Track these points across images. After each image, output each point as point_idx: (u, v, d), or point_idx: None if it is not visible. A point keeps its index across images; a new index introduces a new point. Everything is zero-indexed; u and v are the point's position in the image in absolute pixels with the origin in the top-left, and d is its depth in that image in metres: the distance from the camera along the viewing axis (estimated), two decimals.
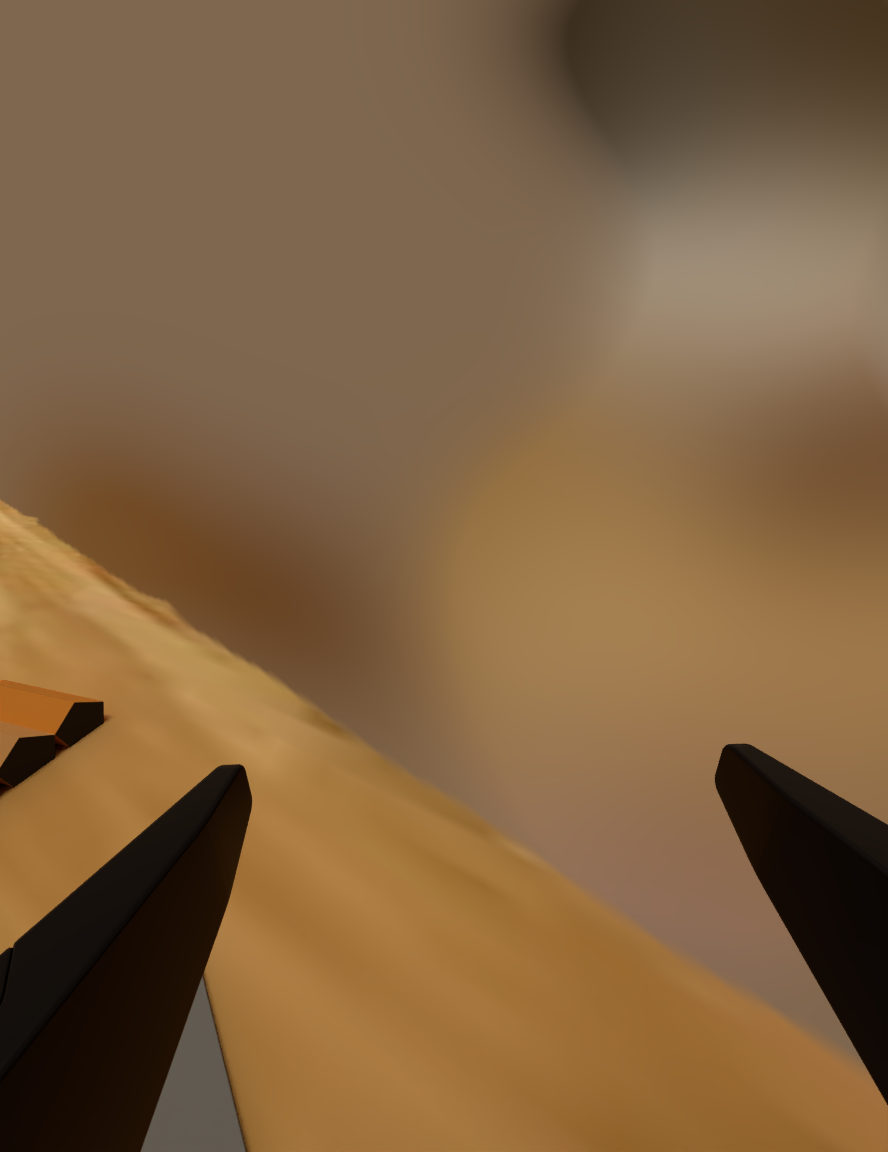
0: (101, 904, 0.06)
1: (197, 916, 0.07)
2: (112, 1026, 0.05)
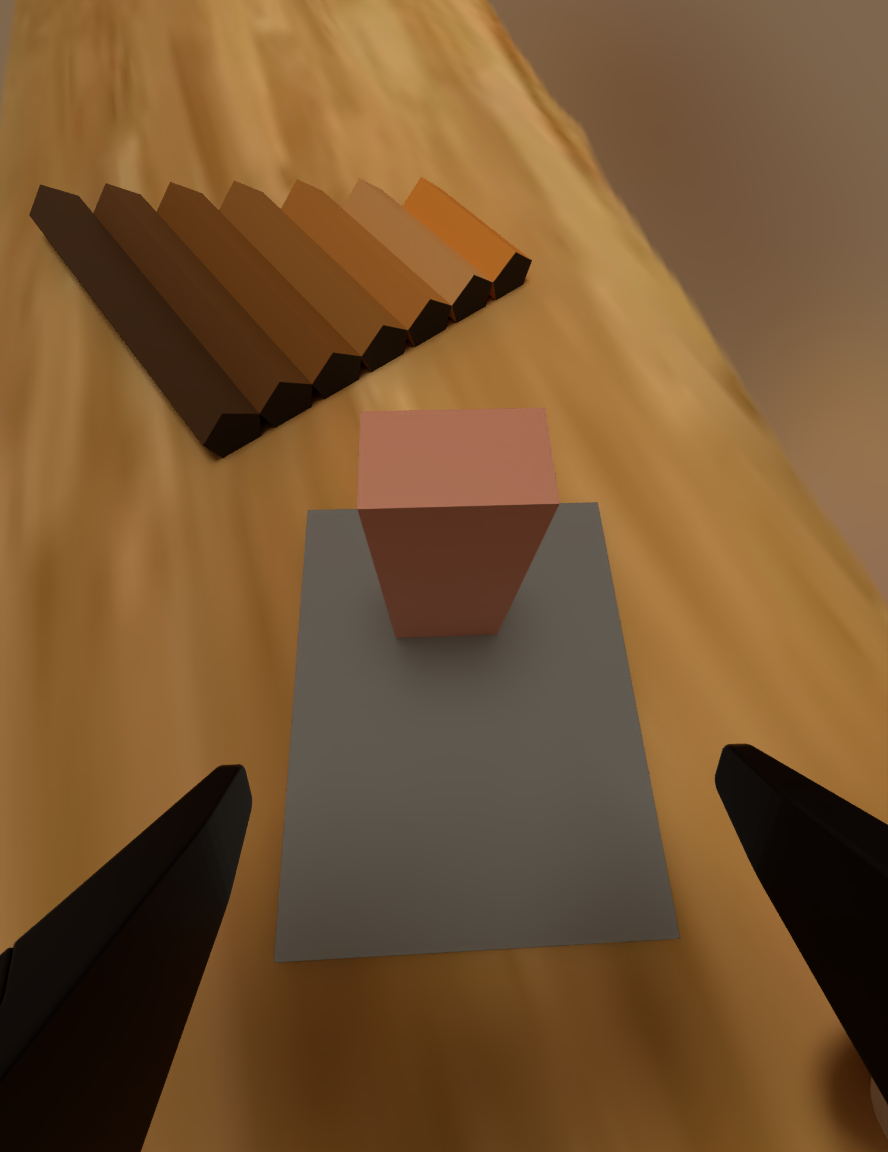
0: (101, 905, 0.06)
1: (197, 916, 0.07)
2: (112, 1026, 0.05)
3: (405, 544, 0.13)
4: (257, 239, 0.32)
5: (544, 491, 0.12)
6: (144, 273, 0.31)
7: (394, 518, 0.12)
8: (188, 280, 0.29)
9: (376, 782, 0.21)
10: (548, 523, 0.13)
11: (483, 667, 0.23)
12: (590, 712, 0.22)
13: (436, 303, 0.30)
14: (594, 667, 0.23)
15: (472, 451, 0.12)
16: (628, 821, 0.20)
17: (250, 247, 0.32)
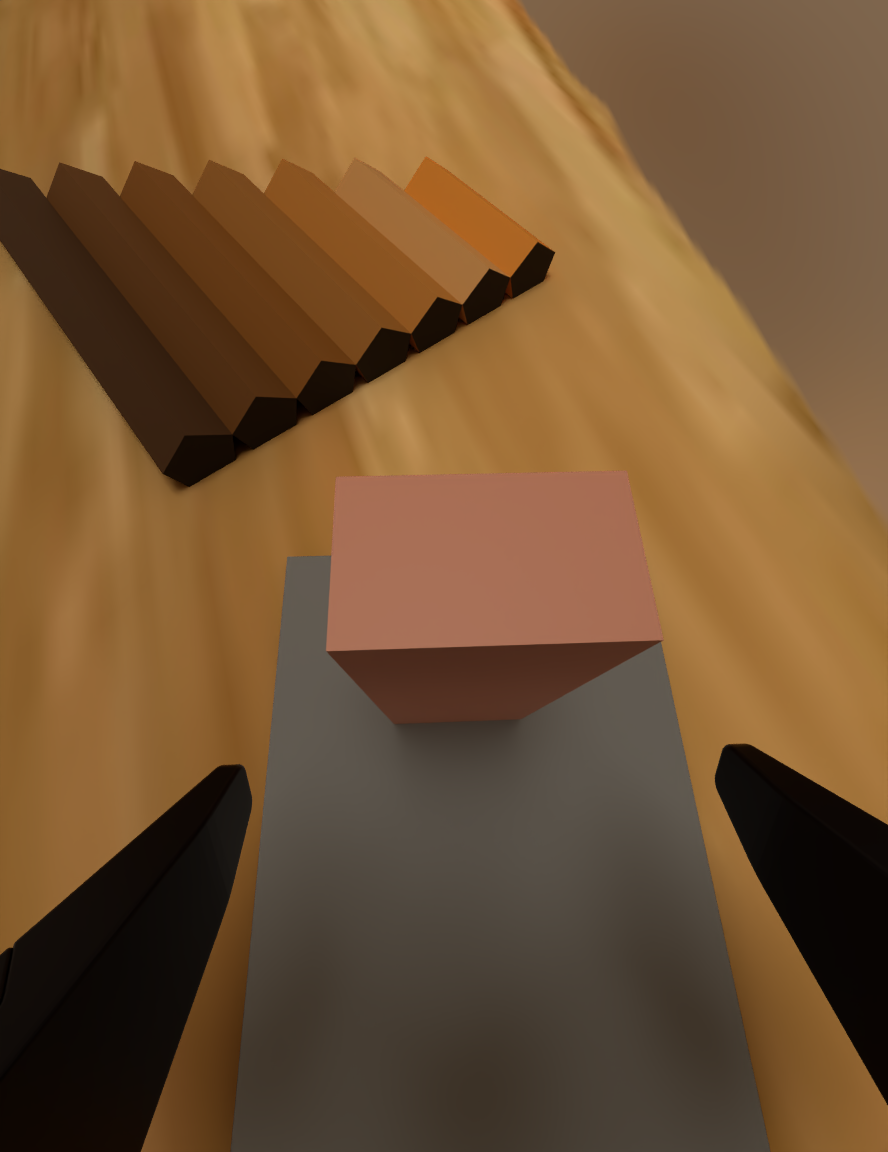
0: (101, 905, 0.06)
1: (197, 916, 0.07)
2: (112, 1026, 0.05)
3: (407, 674, 0.09)
4: (235, 227, 0.28)
5: (636, 617, 0.07)
6: (102, 266, 0.26)
7: (389, 656, 0.07)
8: (151, 274, 0.25)
9: (367, 923, 0.16)
10: (633, 655, 0.08)
11: (503, 763, 0.18)
12: (640, 825, 0.17)
13: (444, 302, 0.25)
14: (643, 763, 0.18)
15: (514, 544, 0.08)
16: (695, 980, 0.16)
17: (227, 236, 0.27)
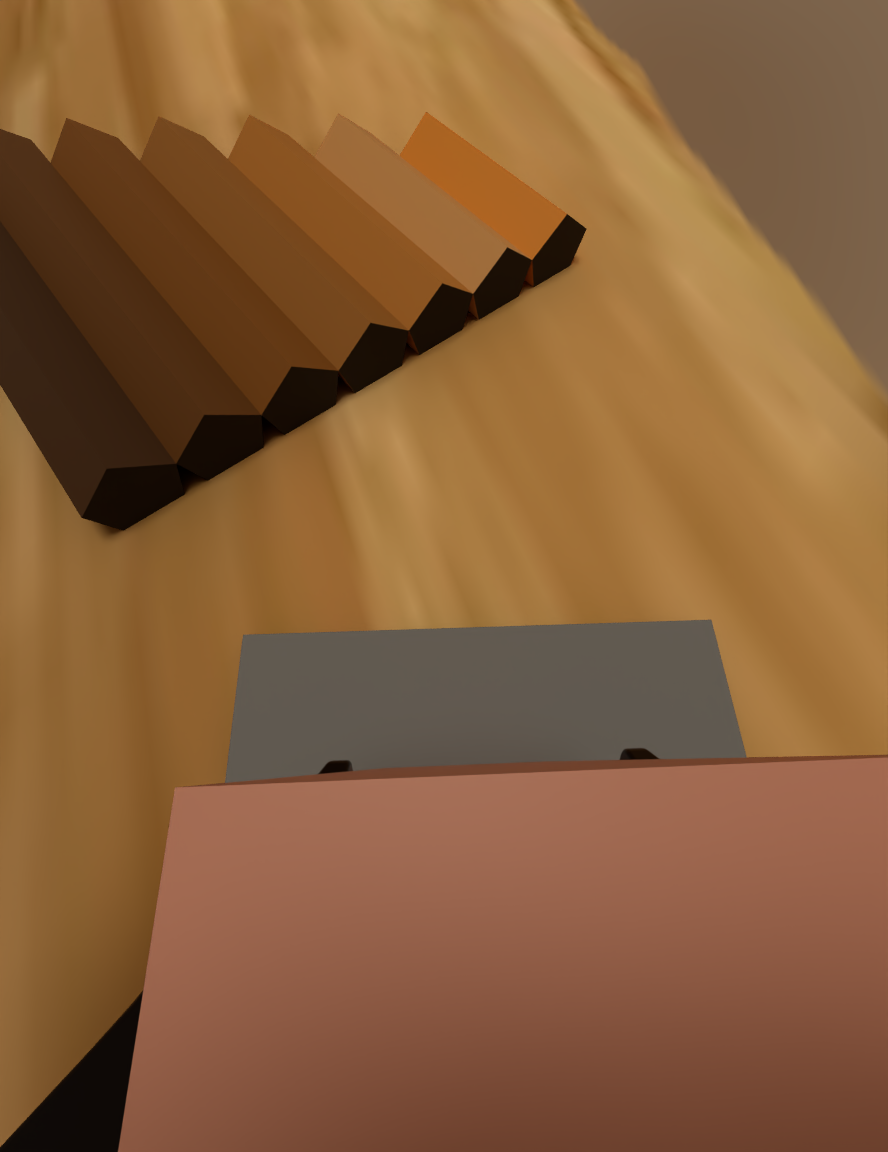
0: None
1: None
2: None
3: None
4: (190, 199, 0.22)
5: None
6: (21, 248, 0.21)
7: None
8: (77, 256, 0.19)
9: None
10: None
11: None
12: None
13: (451, 290, 0.20)
14: None
15: (727, 1063, 0.02)
16: None
17: (179, 210, 0.22)
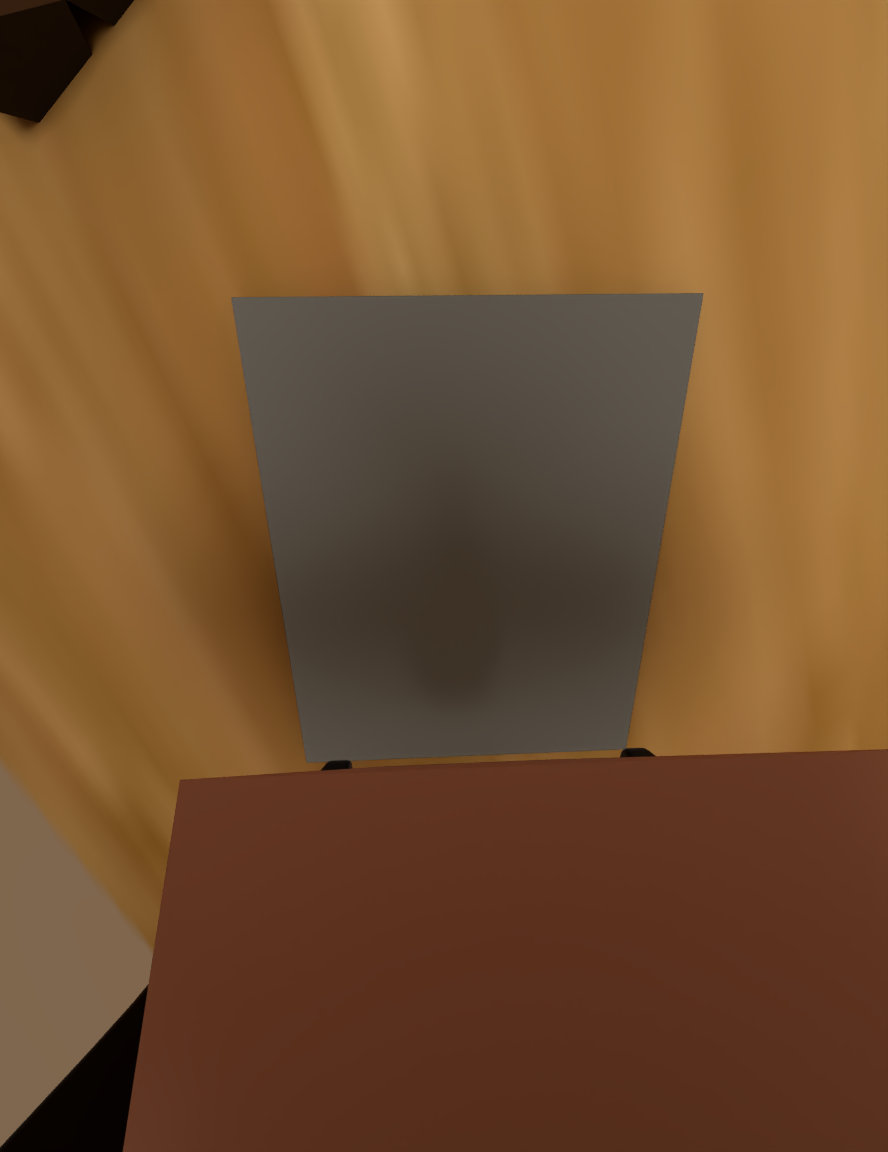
0: None
1: None
2: None
3: None
4: None
5: None
6: None
7: None
8: None
9: (376, 651, 0.21)
10: None
11: (492, 545, 0.19)
12: (602, 592, 0.20)
13: None
14: (620, 546, 0.20)
15: (718, 1047, 0.02)
16: (611, 680, 0.22)
17: None
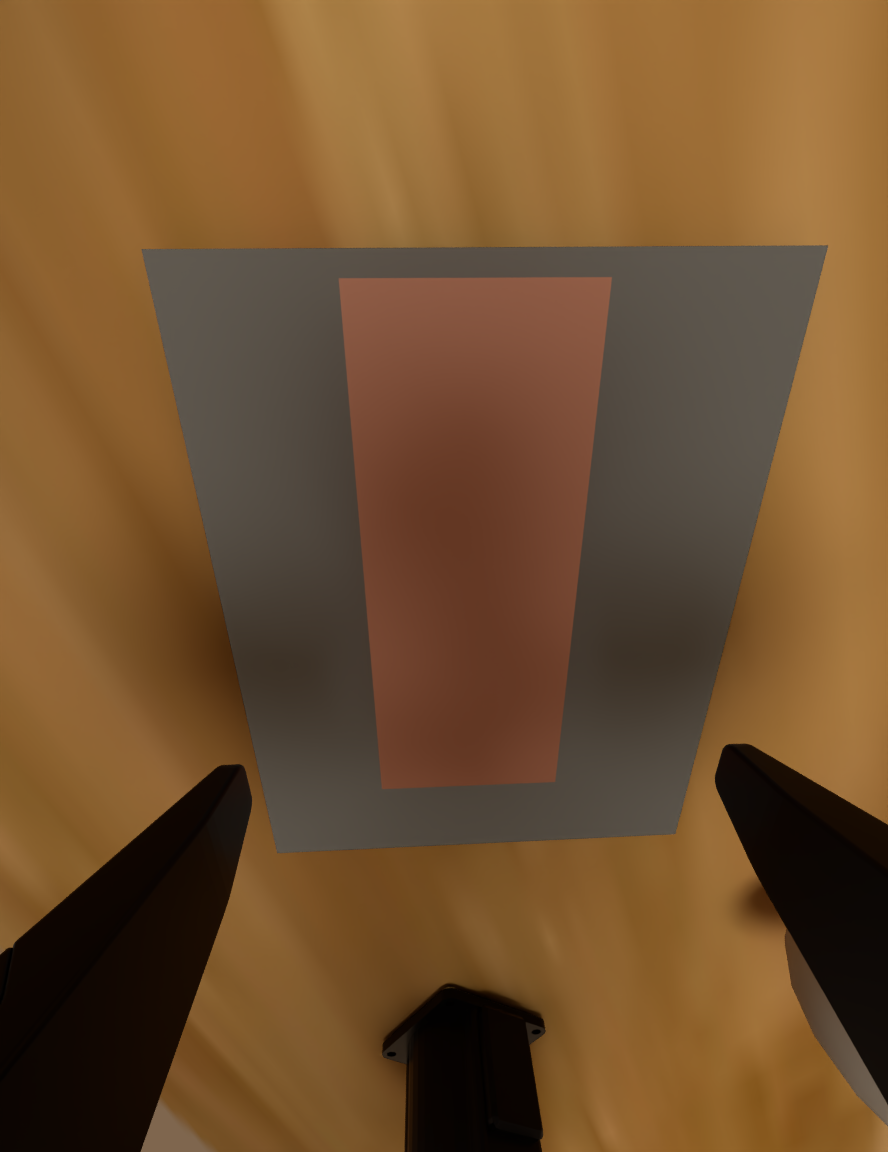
0: (101, 905, 0.06)
1: (197, 916, 0.07)
2: (112, 1026, 0.05)
3: (403, 397, 0.09)
4: None
5: None
6: None
7: (388, 309, 0.09)
8: None
9: (363, 724, 0.16)
10: (602, 340, 0.09)
11: None
12: (658, 651, 0.16)
13: None
14: (685, 594, 0.15)
15: None
16: (662, 756, 0.17)
17: None
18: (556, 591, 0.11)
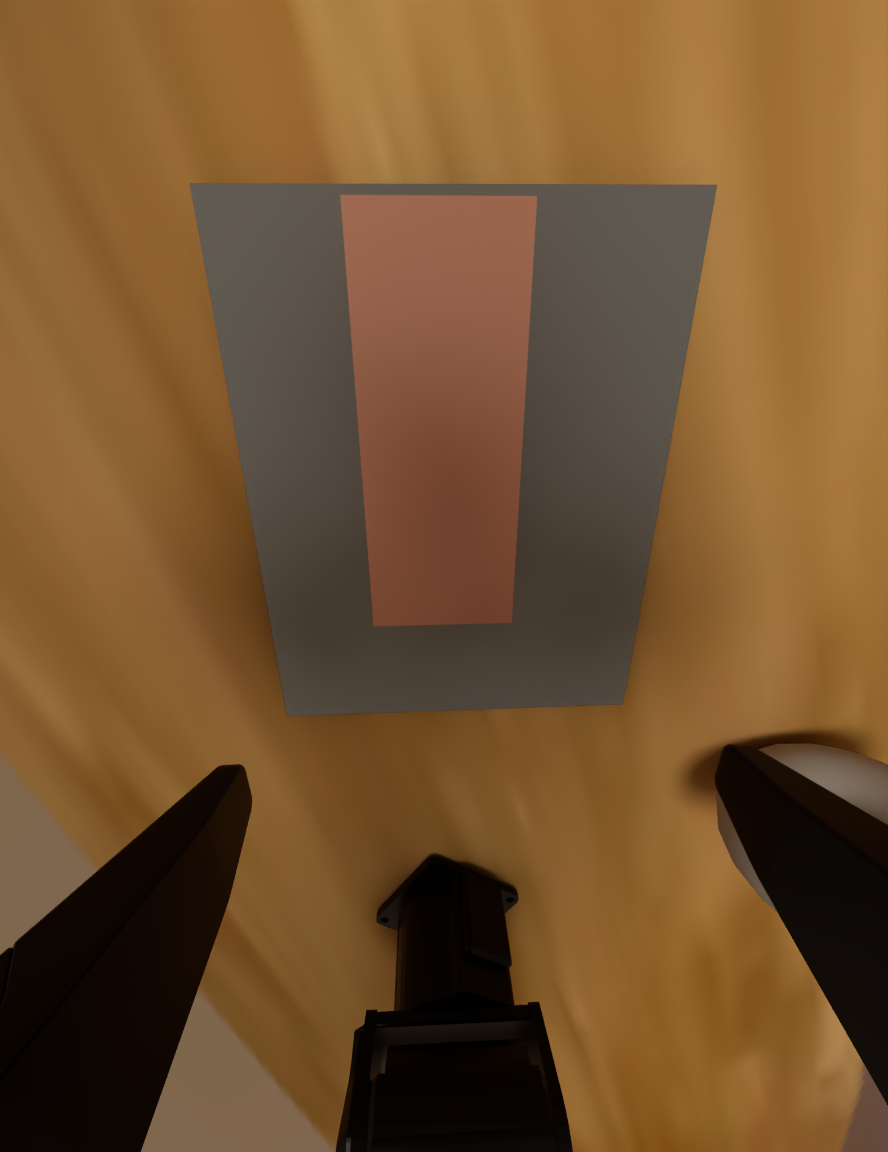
0: (101, 904, 0.06)
1: (197, 916, 0.07)
2: (112, 1026, 0.05)
3: (387, 287, 0.13)
4: None
5: None
6: None
7: (376, 219, 0.12)
8: None
9: (359, 595, 0.20)
10: (532, 244, 0.12)
11: None
12: (600, 532, 0.19)
13: None
14: (621, 480, 0.18)
15: None
16: (608, 629, 0.21)
17: None
18: (506, 451, 0.15)
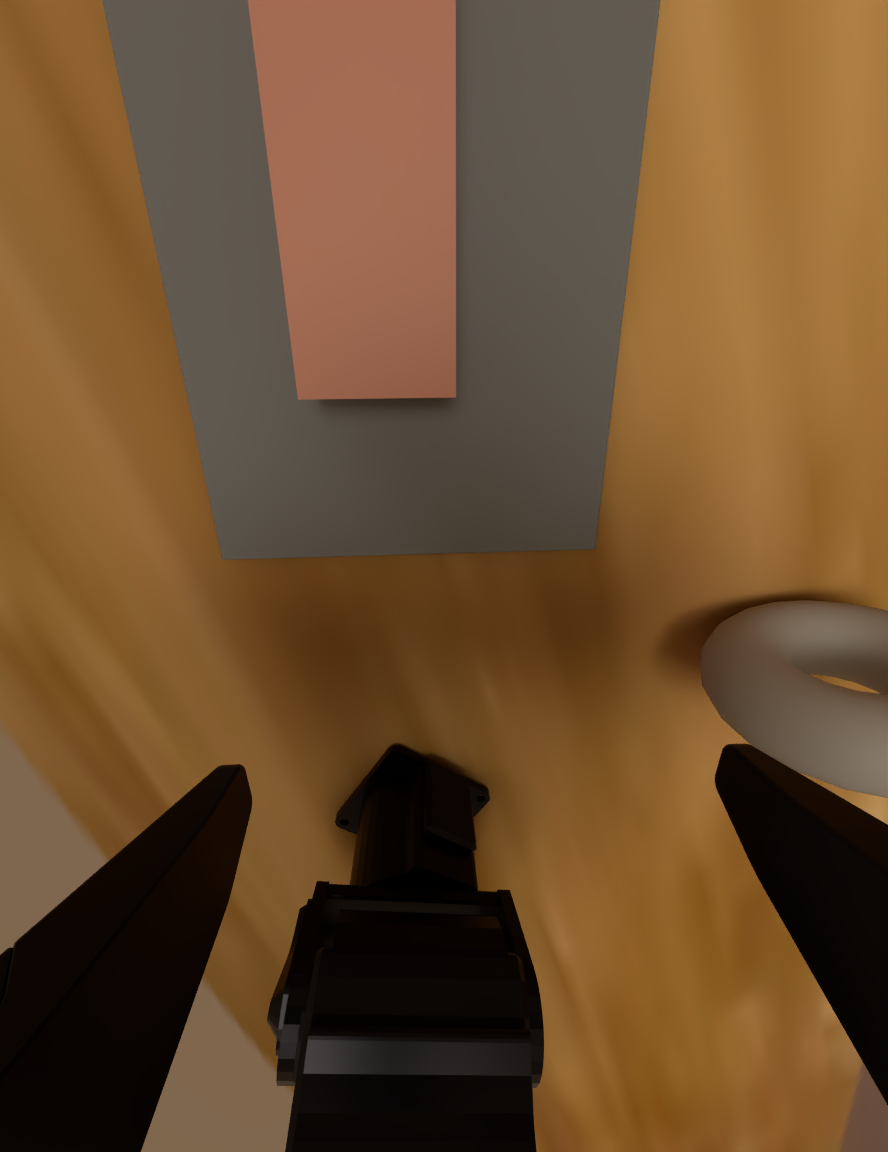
0: (101, 905, 0.06)
1: (197, 916, 0.07)
2: (112, 1026, 0.05)
3: None
4: None
5: None
6: None
7: None
8: None
9: (294, 402, 0.18)
10: None
11: None
12: (561, 321, 0.17)
13: None
14: (582, 252, 0.16)
15: None
16: (575, 451, 0.19)
17: None
18: (437, 153, 0.13)
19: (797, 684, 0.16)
